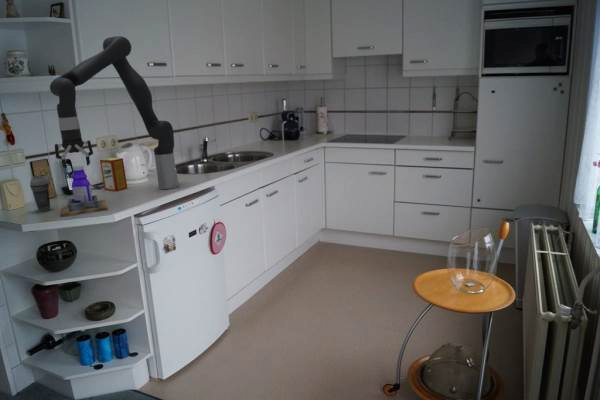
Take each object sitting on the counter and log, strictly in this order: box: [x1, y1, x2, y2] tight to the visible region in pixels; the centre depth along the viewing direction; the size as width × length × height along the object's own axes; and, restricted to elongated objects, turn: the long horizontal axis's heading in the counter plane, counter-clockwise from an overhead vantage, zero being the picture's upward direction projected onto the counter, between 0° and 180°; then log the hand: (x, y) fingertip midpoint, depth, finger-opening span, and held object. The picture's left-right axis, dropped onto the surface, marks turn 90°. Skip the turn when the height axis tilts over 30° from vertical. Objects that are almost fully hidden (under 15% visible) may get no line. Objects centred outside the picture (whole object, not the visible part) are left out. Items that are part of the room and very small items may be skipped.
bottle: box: [71, 165, 93, 203], centre depth 205 cm, size 7×6×17 cm
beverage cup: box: [29, 165, 51, 213], centre depth 206 cm, size 7×7×20 cm
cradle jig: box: [59, 194, 108, 218], centre depth 206 cm, size 18×16×4 cm
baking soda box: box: [99, 157, 128, 192], centre depth 242 cm, size 10×6×16 cm
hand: (77, 166), depth 202 cm, fingers open, 8 cm apart
